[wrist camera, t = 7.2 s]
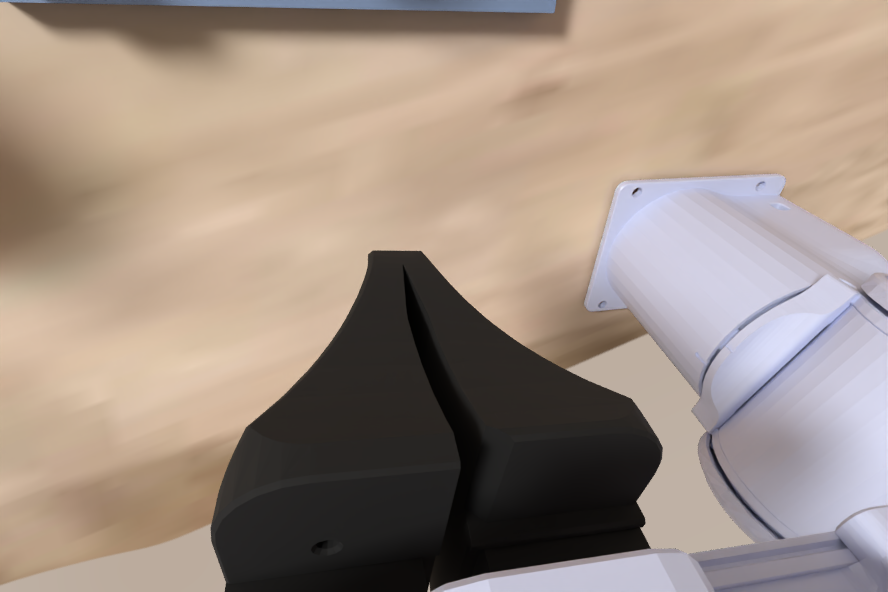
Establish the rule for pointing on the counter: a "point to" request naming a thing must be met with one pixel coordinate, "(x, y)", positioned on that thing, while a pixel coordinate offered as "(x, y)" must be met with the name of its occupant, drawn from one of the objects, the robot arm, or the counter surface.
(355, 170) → the counter surface
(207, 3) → the plate
